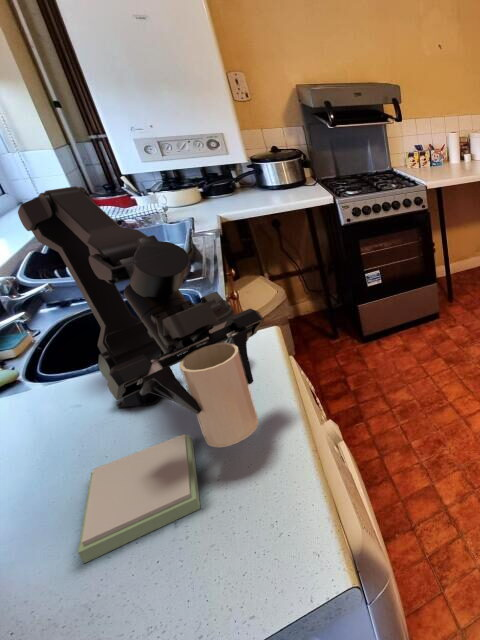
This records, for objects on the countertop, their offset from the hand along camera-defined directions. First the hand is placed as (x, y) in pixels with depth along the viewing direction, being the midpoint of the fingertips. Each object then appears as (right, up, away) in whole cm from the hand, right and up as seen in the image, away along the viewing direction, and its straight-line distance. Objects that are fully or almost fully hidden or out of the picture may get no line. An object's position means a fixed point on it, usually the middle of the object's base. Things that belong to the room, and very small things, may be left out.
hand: (226, 397), depth 62 cm
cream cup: (-1, -6, +3) cm, 7 cm away
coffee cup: (-18, -4, +27) cm, 32 cm away
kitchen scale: (-12, -14, 0) cm, 18 cm away
